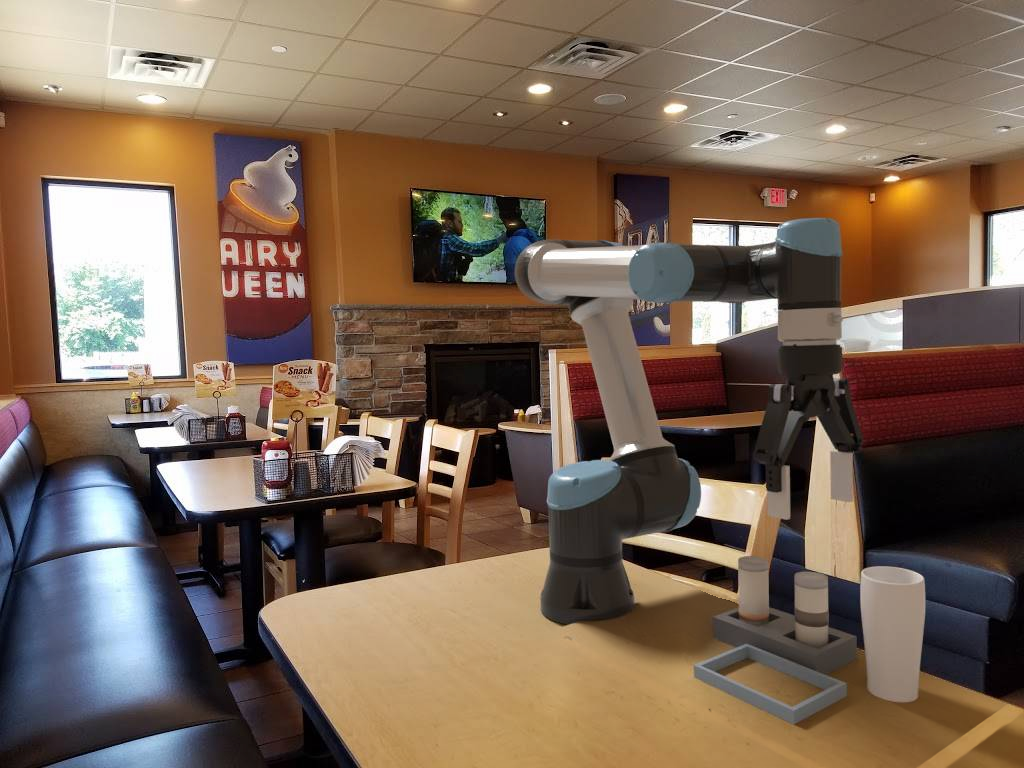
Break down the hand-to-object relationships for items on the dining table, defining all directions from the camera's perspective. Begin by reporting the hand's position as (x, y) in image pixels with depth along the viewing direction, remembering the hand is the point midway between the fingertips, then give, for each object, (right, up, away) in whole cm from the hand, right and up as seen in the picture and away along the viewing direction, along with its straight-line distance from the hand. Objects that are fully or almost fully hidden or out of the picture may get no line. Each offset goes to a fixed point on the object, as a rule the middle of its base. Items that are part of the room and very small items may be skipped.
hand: (811, 508), depth 94 cm
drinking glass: (+7, -22, -7) cm, 24 cm away
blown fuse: (+1, -20, +1) cm, 20 cm away
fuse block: (-2, -21, +5) cm, 21 cm away
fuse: (-4, -20, +9) cm, 22 cm away
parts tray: (-7, -22, -5) cm, 23 cm away
